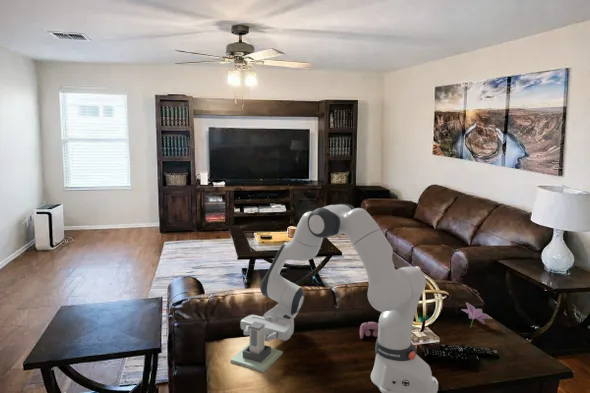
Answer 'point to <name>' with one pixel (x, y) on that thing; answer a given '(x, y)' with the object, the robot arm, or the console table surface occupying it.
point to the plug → (257, 337)
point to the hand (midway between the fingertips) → (255, 336)
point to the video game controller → (365, 329)
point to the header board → (257, 358)
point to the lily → (475, 313)
